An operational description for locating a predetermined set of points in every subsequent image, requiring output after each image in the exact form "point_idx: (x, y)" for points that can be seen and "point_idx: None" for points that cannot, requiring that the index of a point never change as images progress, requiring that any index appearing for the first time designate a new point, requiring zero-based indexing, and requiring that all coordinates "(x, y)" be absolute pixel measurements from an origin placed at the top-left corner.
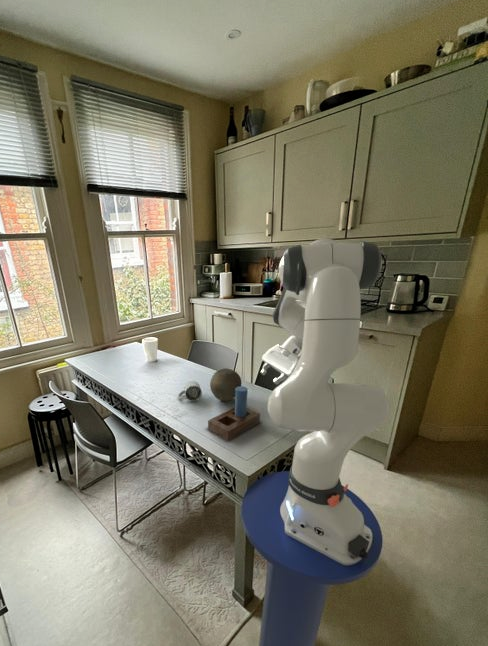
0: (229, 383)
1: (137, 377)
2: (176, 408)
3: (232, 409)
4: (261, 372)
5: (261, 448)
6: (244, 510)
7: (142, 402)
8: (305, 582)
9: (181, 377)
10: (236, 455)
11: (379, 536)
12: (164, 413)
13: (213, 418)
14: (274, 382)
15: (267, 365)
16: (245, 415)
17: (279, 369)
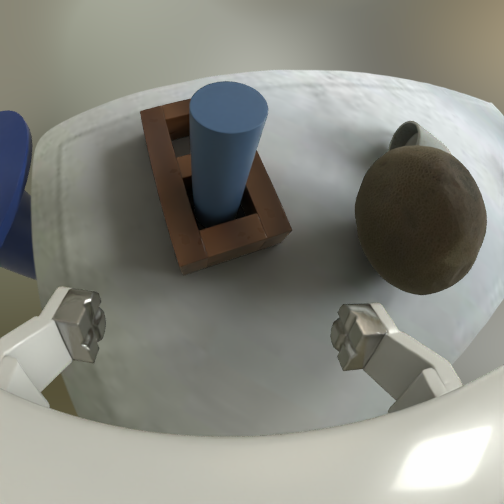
0: (392, 182)
1: (475, 133)
2: (357, 107)
3: (263, 181)
4: (356, 304)
5: (65, 197)
6: (12, 114)
7: (389, 81)
8: None
9: (487, 205)
10: (86, 131)
11: None
12: (338, 81)
13: None
14: (68, 288)
15: (415, 399)
16: (195, 201)
17: (34, 412)
